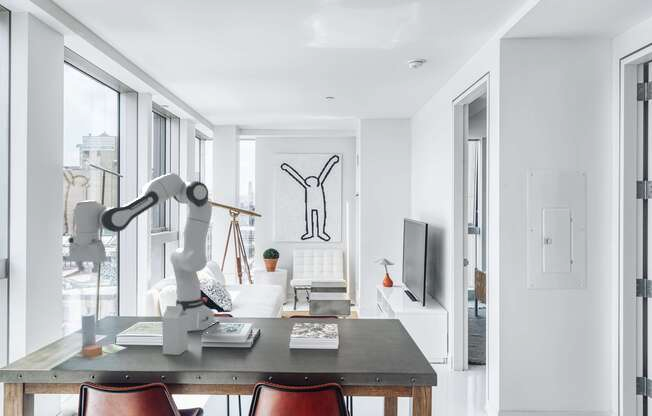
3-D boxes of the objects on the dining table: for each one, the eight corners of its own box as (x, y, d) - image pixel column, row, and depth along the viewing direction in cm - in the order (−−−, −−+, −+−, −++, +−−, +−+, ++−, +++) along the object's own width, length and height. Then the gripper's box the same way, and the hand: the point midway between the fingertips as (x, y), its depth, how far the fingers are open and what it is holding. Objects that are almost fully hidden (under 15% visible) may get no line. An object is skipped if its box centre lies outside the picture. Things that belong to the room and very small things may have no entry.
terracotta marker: (94, 351, 184) (94, 344, 184) (102, 353, 181) (102, 346, 181) (82, 355, 179) (82, 347, 179) (90, 357, 177) (90, 349, 177)
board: (111, 346, 194) (111, 343, 194) (127, 350, 188) (127, 347, 188) (74, 357, 180) (74, 355, 180) (91, 362, 174) (91, 359, 174)
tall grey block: (91, 345, 195) (90, 313, 195) (98, 347, 193) (97, 314, 192) (79, 348, 191) (79, 316, 190) (86, 350, 188) (86, 317, 188)
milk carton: (178, 355, 181) (177, 308, 181) (162, 354, 182) (161, 307, 182) (187, 349, 188) (186, 304, 187) (172, 348, 189) (171, 303, 189)
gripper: (109, 239, 186) (110, 272, 186) (80, 237, 196) (81, 269, 196) (95, 240, 180) (96, 274, 181) (65, 238, 191) (66, 271, 191)
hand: (88, 271), depth 189 cm, fingers open, 8 cm apart
